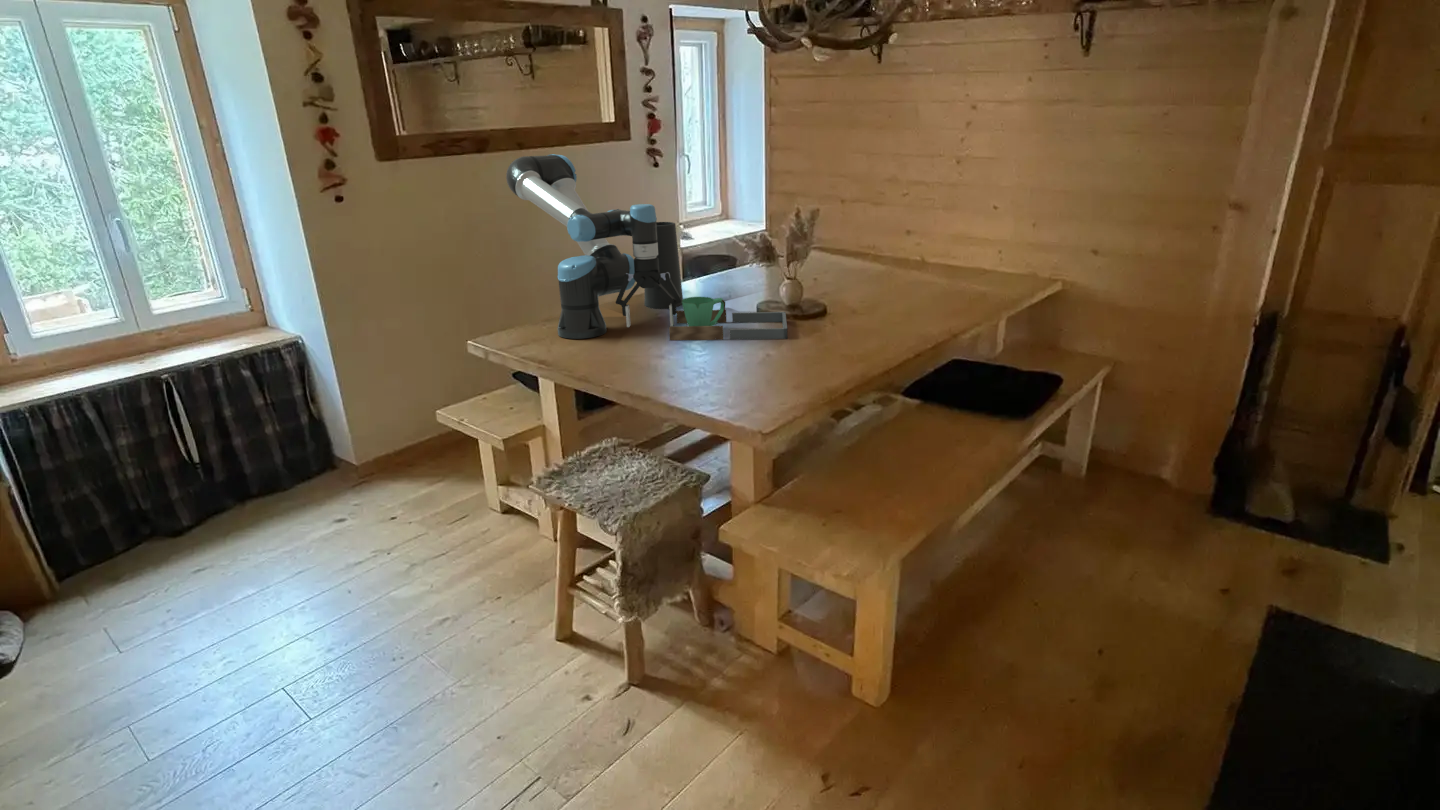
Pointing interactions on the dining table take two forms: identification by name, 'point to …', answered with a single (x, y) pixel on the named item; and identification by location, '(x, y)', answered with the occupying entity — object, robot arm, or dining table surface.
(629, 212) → the robot arm
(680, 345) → the dining table surface
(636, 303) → the dining table surface
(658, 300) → the vase
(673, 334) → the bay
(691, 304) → the mug
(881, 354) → the dining table surface
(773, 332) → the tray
